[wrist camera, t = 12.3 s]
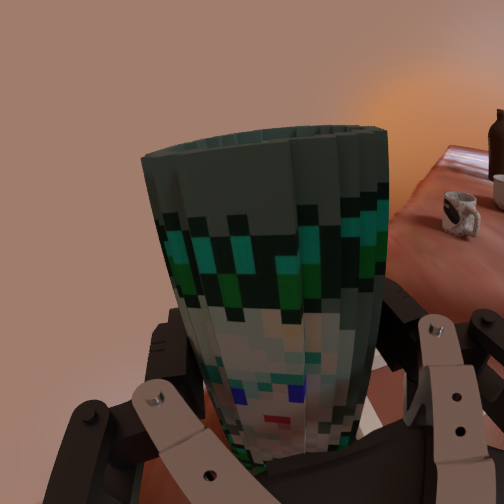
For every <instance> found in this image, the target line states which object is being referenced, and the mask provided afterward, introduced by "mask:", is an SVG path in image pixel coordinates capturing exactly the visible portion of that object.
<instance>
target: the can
mask: <svg viewBox="0 0 504 504" xmlns="http://www.w3.org/2000/svg"><path fill="white" fill-rule="evenodd" d="M141 162H142V167H143V172H144V177H145V182H146V186H147V191H148V195H149V199H150V204H151V208H152V212H153V216H154V221H155V225H156V229H157V232H158V236H159V240H160V244H161V248H162V252H163V255H164V259H165V262H166V266H167V270H168V273H169V277H170V280H171V284H172V287H173V290H174V294H175V297H176V300H177V304H178V307H179V310H180V313H181V316H182V320H183V323H184V326H185V329H186V332H187V335H188V338H189V341H190V344H191V347H192V349H193V352H194V355H195V358H196V361H197V364H198V366H199V369H200V372H201V375H202V377H203V380H204V383H205V385H206V388H207V391H208V393H209V396H210V398H211V401H212V404H213V406H214V409H215V411H216V414H217V416H218V419H219V421H220V423H221V426H222V428H223V431H224V433H225V435H226V438H227V440H228V442H229V445H230V447H231V449H232V451H233V454H234V456H235V458H236V459H237V460H238V461H239V462H240V463H241V464H242V465H243V466H244V467H245V468H246V469H247V471H248V472H249V473H250V474H251V475H252V476H255V475H257V474H259V473H261V472H263V471H265V470H267V467H266V462H265V461H269V460H274V459H279V458H284V457H288V456H292V455H296V454H300V453H314V452H328V451H339V450H343V449H345V448H346V447H348V446H350V445H351V444H353V443H354V441H355V438H356V434H357V431H358V427H359V423H360V419H361V415H362V411H363V407H364V403H365V399H366V394H367V390H368V385H369V380H370V376H371V371H372V365H373V360H374V354H375V349H376V343H377V337H378V330H379V323H380V316H381V308H382V300H383V291H384V282H385V271H386V258H387V243H388V221H389V158H388V137H387V131H386V130H384V129H381V128H378V127H375V126H359V125H318V126H295V127H283V128H272V129H263V130H254V131H249V132H241V133H234V134H228V135H222V136H215V137H212V138H206V139H200V140H196V141H193V142H189V143H183V144H178V145H175V146H171V147H168V148H165V149H162V150H158V151H155V152H152V153H149V154H146V155H145V157H142V158H141Z"/></svg>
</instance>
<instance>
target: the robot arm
mask: <svg viewBox="0 0 504 504" xmlns="http://www.w3.org/2000/svg"><path fill="white" fill-rule="evenodd" d="M376 349H377V350H378V352H379V353H380V355H381V356H382V357H383V359H384V360H385V362H386V363H387V365H388V366H389V368H390V369H391V371H392V372H394V371H397V370H400V369H402V368H403V369H404V370H405V375H404V406H403V418H402V419H400V420H398V421H395V422H393V423H391V424H388V425H386V426H383V427H381V428H378V429H376V430H373V431H371V432H370V433H368V434H367V435H365V436H364V437H362V438H361V439H359V440H358V441H356V442H355V443H353V444H351V445H350V446H348V447H346V448H345V449H343V450H339V451H328V452H314V453H300V454H296V455H292V456H288V457H284V458H279V459H274V460H269V461H265V462H266V467H267V470H265V471H263V472H261V473H259V474H257V475H255V476H252V475H251V474H250V473H249V472H248V471H247V469H246V468H245V467H244V466H243V465H242V464H241V463H240V462H239V461H238V460H237V459H236V458H235V457H234V455H233V454H232V453H231V452H230V451H229V450H228V449H227V448H226V447H225V445H224V444H223V443H222V442H221V441H220V440H219V438H218V437H217V436H216V435H215V434H214V433H213V431H212V430H211V429H210V428H209V427H205V426H204V425H203V424H202V423H201V422H200V420H199V419H205V406H204V389H203V377H202V375H201V372H200V369H199V366H198V364H197V361H196V358H195V355H194V352H193V349H192V347H191V344H190V341H189V338H188V335H187V332H186V329H185V326H184V323H183V320H182V316H181V313H180V310H179V307H178V308H173V309H170V311H169V318H168V323H162V324H159V325H158V326H157V328H156V329H155V330H154V332H153V334H152V338H151V345H150V350H149V352H150V353H149V357H148V362H147V369H146V375H145V382H144V383H143V384H141V385H140V386H139V387H138V388H137V389H136V390H135V392H134V393H133V396H132V399H131V400H130V401H128V402H125V403H122V404H120V405H116V406H113V407H110V408H108V407H107V405H106V404H105V403H104V402H102V401H99V400H89V401H86V402H83V403H82V404H80V405H79V406H78V407H77V408H76V409H75V410H74V412H73V413H72V416H71V418H70V421H69V424H68V426H67V429H66V432H65V435H64V437H63V440H62V443H61V446H60V449H59V451H58V455H57V458H56V461H55V464H54V467H53V470H52V473H51V476H50V479H49V483H48V486H47V490H46V493H45V497H44V500H43V504H138V500H139V493H140V486H141V480H142V473H143V467H144V462H145V461H148V460H151V459H154V458H157V457H161V459H162V461H163V462H164V464H165V466H166V467H167V469H168V470H169V472H170V473H171V475H172V476H173V478H174V479H175V481H176V482H177V484H178V485H179V487H180V488H181V490H182V491H183V492H184V494H185V495H186V497H187V498H188V499H189V501H190V502H191V504H504V450H501V449H497V448H494V447H491V446H488V445H487V440H486V432H485V424H484V417H483V411H484V412H485V413H486V414H487V415H488V416H489V417H490V418H491V419H492V420H493V422H494V423H495V424H496V425H497V426H498V427H499V428H500V429H501V431H502V432H503V433H504V380H503V379H502V378H501V377H500V376H499V375H498V374H497V373H496V372H495V371H494V370H493V369H492V368H491V367H490V366H489V365H487V362H488V360H489V358H490V356H491V355H492V356H493V357H494V358H495V359H496V360H497V361H498V362H499V363H500V364H502V365H503V366H504V319H503V318H502V317H501V316H499V315H498V314H497V313H495V312H493V311H491V310H487V309H479V310H476V311H474V312H473V314H472V316H471V319H470V322H468V323H460V324H453V322H452V321H451V320H450V319H448V318H447V317H445V316H442V315H438V314H430V315H429V314H428V313H427V312H426V311H425V310H424V309H423V308H422V307H421V306H420V305H419V304H418V303H417V302H416V301H415V300H414V299H413V298H412V297H410V296H409V294H408V293H407V292H406V291H404V289H403V288H402V287H401V286H399V285H398V284H397V283H396V282H394V281H392V280H390V279H388V278H385V282H384V291H383V300H382V308H381V316H380V323H379V330H378V337H377V343H376ZM482 409H483V410H482Z"/></svg>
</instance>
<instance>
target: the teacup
mask: <svg viewBox="0 0 504 504" xmlns="http://www.w3.org/2000/svg"><path fill="white" fill-rule="evenodd" d="M493 178H494V185H493V196H494V201H495V203H496V204H497V205H498V207H499V208H500V209H502V210H504V175H494V176H493Z"/></svg>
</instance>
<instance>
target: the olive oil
mask: <svg viewBox="0 0 504 504" xmlns="http://www.w3.org/2000/svg"><path fill="white" fill-rule="evenodd" d="M488 145H489V176H488V178H489V179H490V180H492V181H494V178H493V176H494V175H504V110H501V109H497V120H496V122H495V123H494V124H493V125H492V126H491V127H490V130H489V133H488Z"/></svg>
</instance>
